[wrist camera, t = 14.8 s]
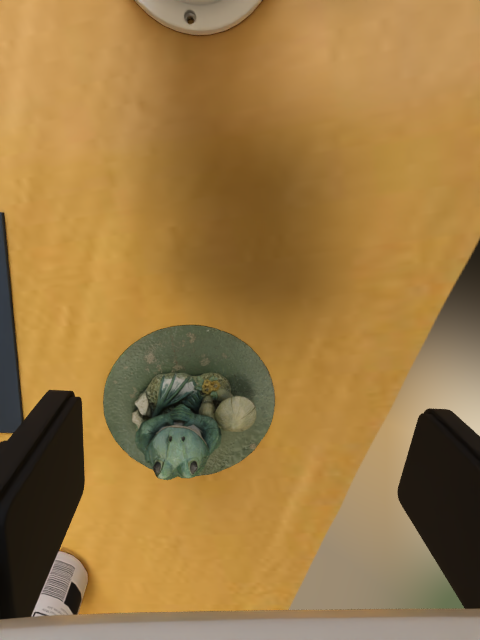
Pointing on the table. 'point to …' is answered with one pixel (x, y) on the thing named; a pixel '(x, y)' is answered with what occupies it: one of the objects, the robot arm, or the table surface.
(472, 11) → the table surface
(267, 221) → the table surface
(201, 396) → the frog figurine
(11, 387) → the mat
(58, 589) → the supplement can
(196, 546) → the table surface
